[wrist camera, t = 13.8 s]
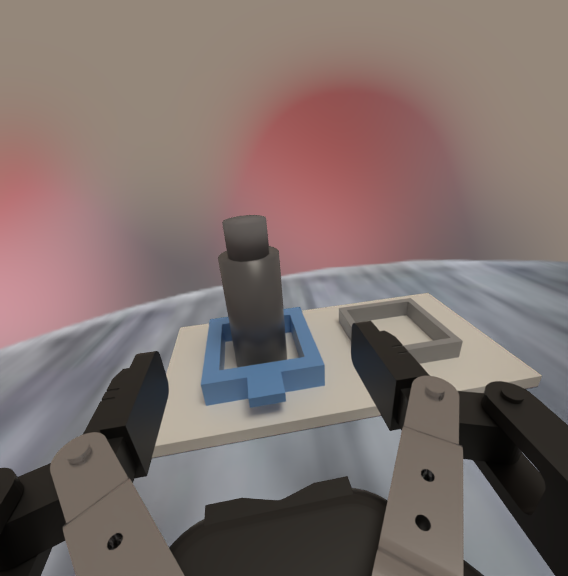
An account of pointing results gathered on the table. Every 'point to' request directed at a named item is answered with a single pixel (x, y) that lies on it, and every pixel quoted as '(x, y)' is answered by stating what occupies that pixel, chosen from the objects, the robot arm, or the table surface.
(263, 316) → the stepped grey cylinder
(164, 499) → the table surface
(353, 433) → the table surface
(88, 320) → the table surface
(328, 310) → the panel
